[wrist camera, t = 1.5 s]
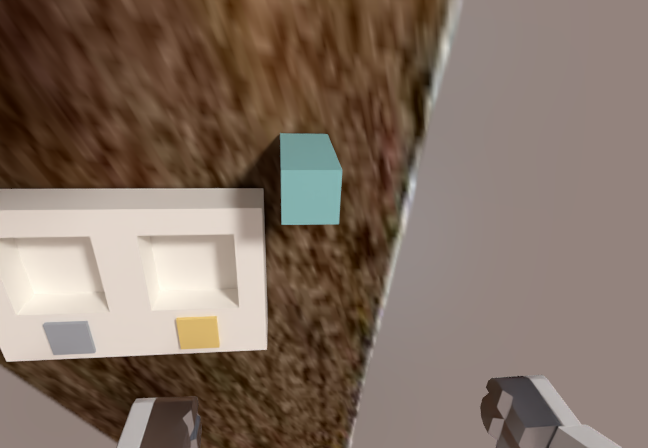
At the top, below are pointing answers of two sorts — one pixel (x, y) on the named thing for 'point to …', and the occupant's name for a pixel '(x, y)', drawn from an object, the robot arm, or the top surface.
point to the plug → (309, 180)
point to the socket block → (131, 272)
